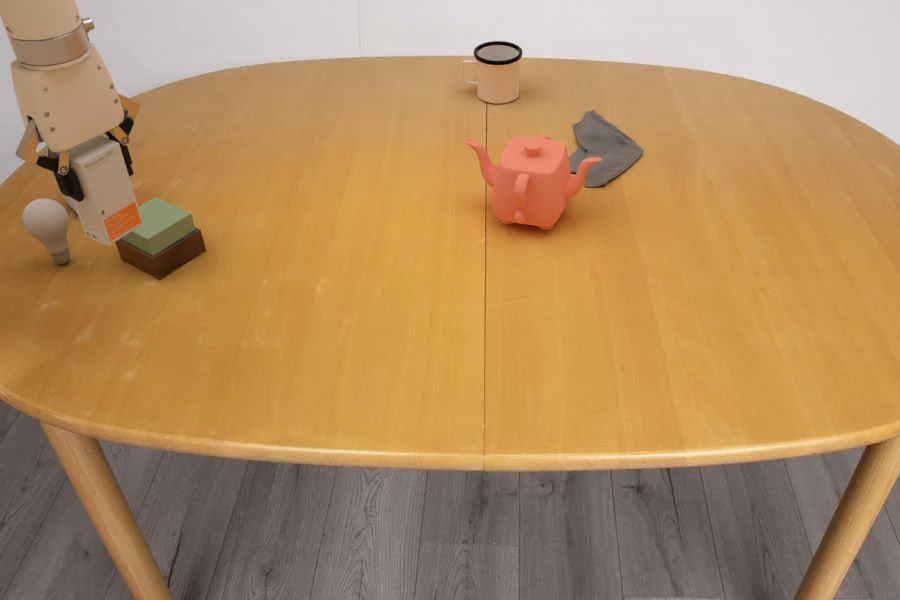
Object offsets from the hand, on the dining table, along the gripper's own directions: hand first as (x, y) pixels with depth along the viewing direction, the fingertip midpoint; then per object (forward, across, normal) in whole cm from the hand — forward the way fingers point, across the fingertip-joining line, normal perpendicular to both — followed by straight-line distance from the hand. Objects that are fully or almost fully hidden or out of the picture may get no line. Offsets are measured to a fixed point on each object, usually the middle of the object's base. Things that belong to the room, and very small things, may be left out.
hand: (99, 183), depth 107 cm
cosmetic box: (+7, 0, 0) cm, 7 cm away
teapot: (+23, -55, +27) cm, 65 cm away
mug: (+23, -84, -2) cm, 87 cm away
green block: (+19, -12, -12) cm, 26 cm away
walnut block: (+23, -12, -12) cm, 29 cm away
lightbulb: (+24, -2, -23) cm, 33 cm away
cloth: (+23, -79, +27) cm, 86 cm away
